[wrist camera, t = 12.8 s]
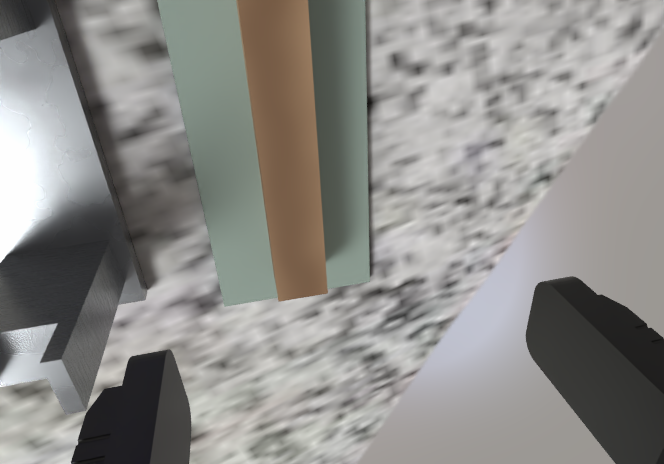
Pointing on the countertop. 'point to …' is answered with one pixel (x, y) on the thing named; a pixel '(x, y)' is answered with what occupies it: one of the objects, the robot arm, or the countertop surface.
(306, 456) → the countertop surface
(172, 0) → the mat
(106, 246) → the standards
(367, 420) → the countertop surface
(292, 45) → the rail
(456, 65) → the countertop surface
